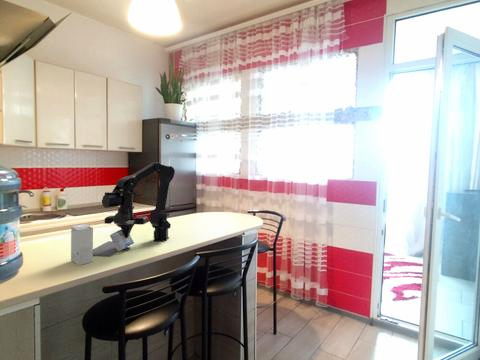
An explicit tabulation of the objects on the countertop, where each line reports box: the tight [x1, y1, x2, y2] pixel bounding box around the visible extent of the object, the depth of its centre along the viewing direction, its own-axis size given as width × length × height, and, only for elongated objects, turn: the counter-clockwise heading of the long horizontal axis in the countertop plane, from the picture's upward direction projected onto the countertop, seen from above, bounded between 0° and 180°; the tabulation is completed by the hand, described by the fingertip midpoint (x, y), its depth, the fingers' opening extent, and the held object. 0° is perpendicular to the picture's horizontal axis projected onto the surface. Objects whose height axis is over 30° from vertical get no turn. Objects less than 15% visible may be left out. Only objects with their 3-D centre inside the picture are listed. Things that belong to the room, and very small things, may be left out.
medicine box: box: [109, 228, 135, 252], centre depth 135 cm, size 8×4×9 cm, turn 171°
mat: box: [93, 240, 119, 257], centre depth 135 cm, size 12×20×1 cm, turn 175°
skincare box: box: [70, 224, 94, 266], centre depth 118 cm, size 8×6×15 cm
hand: (126, 237), depth 134 cm, fingers closed
